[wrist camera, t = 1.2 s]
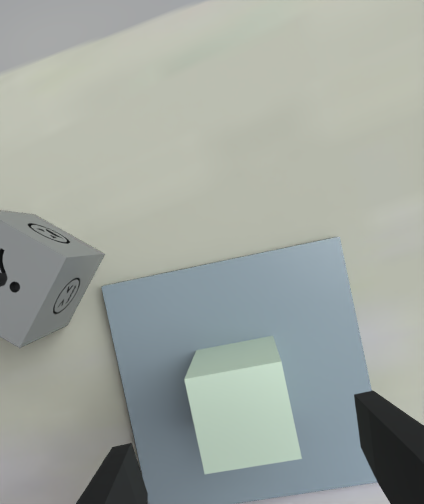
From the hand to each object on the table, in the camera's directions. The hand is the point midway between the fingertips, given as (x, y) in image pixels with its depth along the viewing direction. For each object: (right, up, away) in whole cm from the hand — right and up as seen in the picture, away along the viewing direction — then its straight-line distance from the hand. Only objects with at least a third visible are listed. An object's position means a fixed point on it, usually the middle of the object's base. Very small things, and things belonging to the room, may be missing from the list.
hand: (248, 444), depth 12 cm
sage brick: (+1, -1, +10) cm, 10 cm away
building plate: (+1, -1, +10) cm, 10 cm away
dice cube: (-11, +5, +11) cm, 17 cm away
